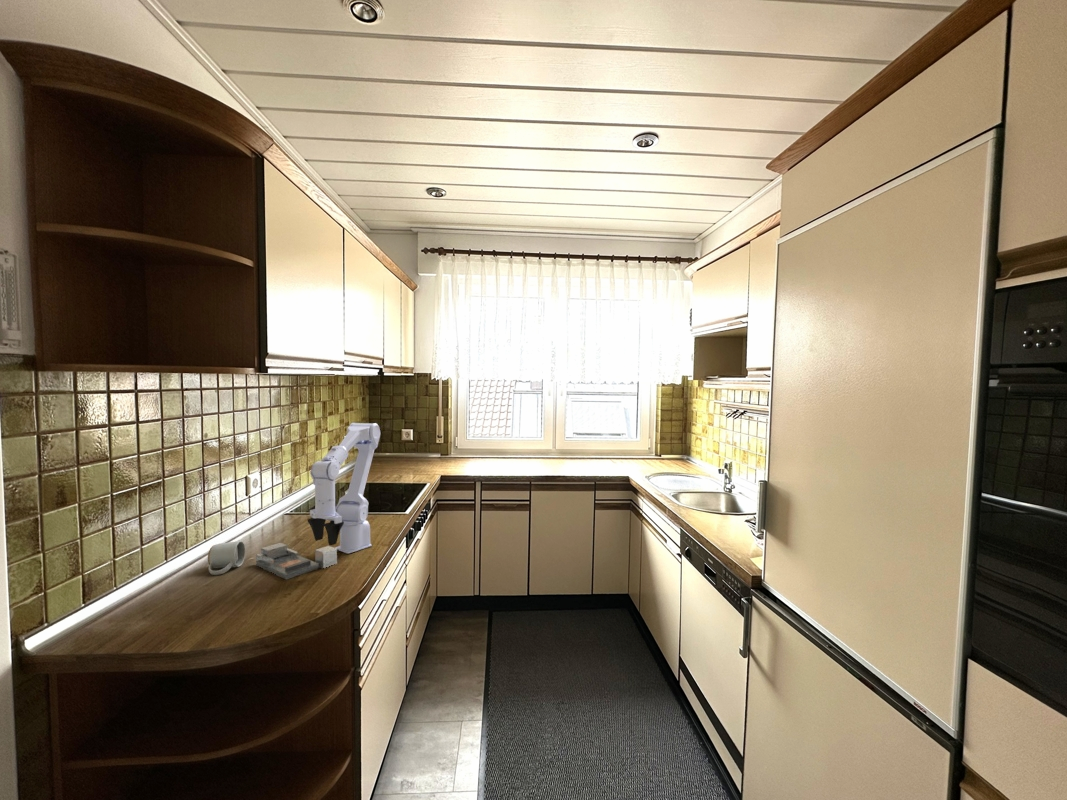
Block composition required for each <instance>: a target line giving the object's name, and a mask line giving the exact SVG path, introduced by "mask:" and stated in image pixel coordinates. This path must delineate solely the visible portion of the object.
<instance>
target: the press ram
mask: <svg viewBox="0 0 1067 800" xmlns="http://www.w3.org/2000/svg"><path fill="white" fill-rule="evenodd" d="M287 548H288V544H284V543H282V542H278V543H274V544H271V545H268V546H264V547H261V549H260V551H261V552H260V554H262V555H264V556H266V557H269V558H271V559H273V558H276V557H280V556H283V555H286V554H287Z"/></svg>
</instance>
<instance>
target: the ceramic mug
mask: <svg viewBox="0 0 1067 800" xmlns="http://www.w3.org/2000/svg"><path fill="white" fill-rule="evenodd" d="M244 543H245V542H244V541H242V540H237V541H236V540H235V541H229V542H222V543H215V544H213V545H211V547H210V549H209V550H208V553H207V564H208V572H209V573H210V575H212V576H213V575H214V576H218V575H222V574H225V573H226V572H228V571H229V570H230V569H231V568H238V567H241V566H242V565H243V564H244V562H245V557H246V546H245V544H244ZM213 569H219V570H213Z"/></svg>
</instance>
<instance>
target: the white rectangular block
mask: <svg viewBox="0 0 1067 800" xmlns="http://www.w3.org/2000/svg"><path fill="white" fill-rule="evenodd" d="M314 552H315V553H314V555H315V556H314V558H315V561H314V562H316V563H319V568H321V569H323V568H324V569H327V568H329V566H330V567H332V566H331V565H333V566H335V565H338V555H337V554H338V553H337V552H338V550H337V548H335V547H333V546H332V545H331V546H330V545H326V546H323V547H320V548H316V549H315V551H314ZM334 564H335V565H334ZM326 567H327V568H326Z"/></svg>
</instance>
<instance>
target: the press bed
mask: <svg viewBox="0 0 1067 800" xmlns="http://www.w3.org/2000/svg"><path fill="white" fill-rule="evenodd" d="M255 557H256V563H255V564H256V565H257V566H256V567H258V566H259V568H260V567H261V569H262V568H263V570H265V571H267V572H269V573H271V572H272V573H271V574H273V573H274V574H273V575H275V574H276V575H275V576H278V577H280V578H282V579H284V580H290V579H293V578H296V577H298V576H301V575H304V574H307V573H310V572H312V571H315V570H318V569H320V567H319V563H316V562H315V561H313V560H311V559H308V558H306V557H303V556H301V555H299V552H298V551H296V550H294V549H291V548H288V547H287V554H286V555H283V556H280V557H276V558H273V559H271V558H269V557H266V556H264V555H262V554H261V553H257V554H256V556H255Z"/></svg>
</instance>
